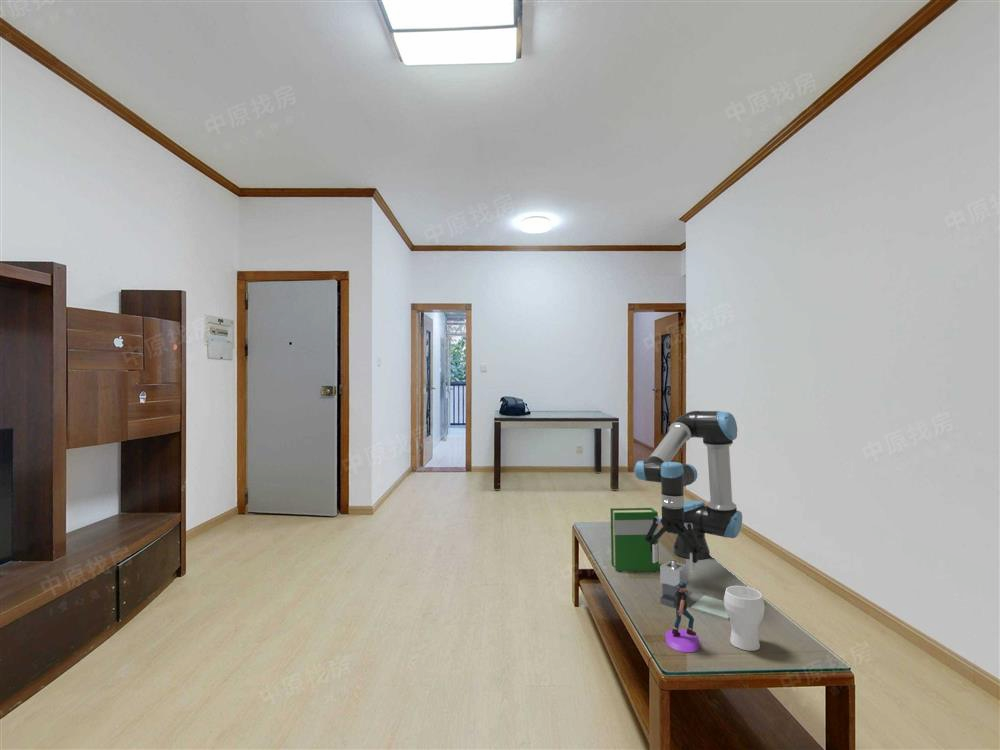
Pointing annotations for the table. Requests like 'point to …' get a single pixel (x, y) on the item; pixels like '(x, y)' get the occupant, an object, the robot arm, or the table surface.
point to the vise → (670, 591)
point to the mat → (711, 607)
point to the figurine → (679, 637)
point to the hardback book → (632, 539)
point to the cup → (744, 616)
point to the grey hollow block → (673, 574)
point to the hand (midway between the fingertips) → (673, 566)
